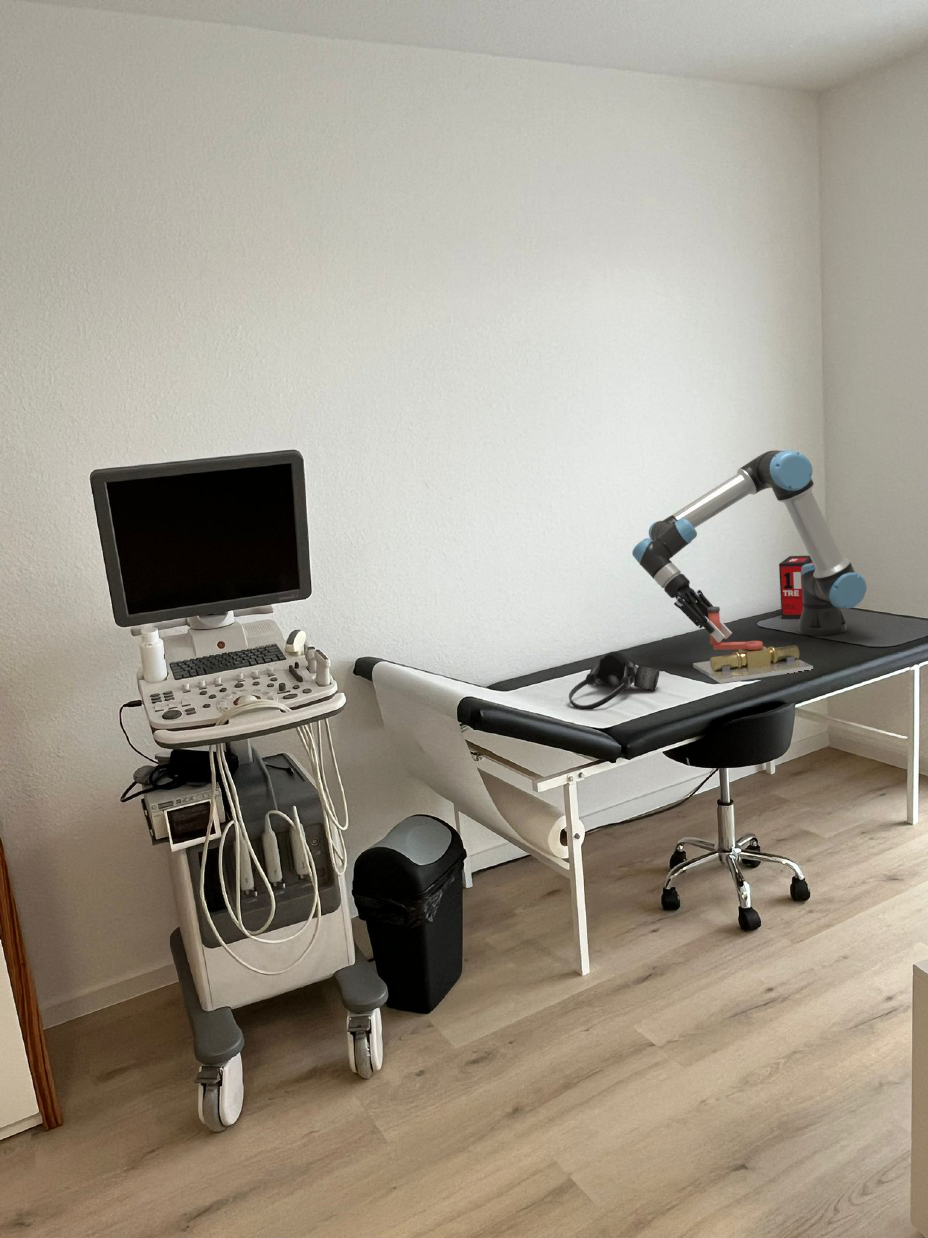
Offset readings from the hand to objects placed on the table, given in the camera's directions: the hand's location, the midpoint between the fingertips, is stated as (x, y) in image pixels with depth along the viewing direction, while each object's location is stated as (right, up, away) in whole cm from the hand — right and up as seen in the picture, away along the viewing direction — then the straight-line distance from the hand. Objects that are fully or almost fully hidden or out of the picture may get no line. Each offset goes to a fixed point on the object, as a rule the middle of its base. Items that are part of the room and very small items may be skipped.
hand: (725, 637), depth 289 cm
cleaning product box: (+44, +7, +64) cm, 78 cm away
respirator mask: (-36, -17, -11) cm, 42 cm away
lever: (+3, -3, +1) cm, 5 cm away
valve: (+8, -9, +1) cm, 12 cm away
